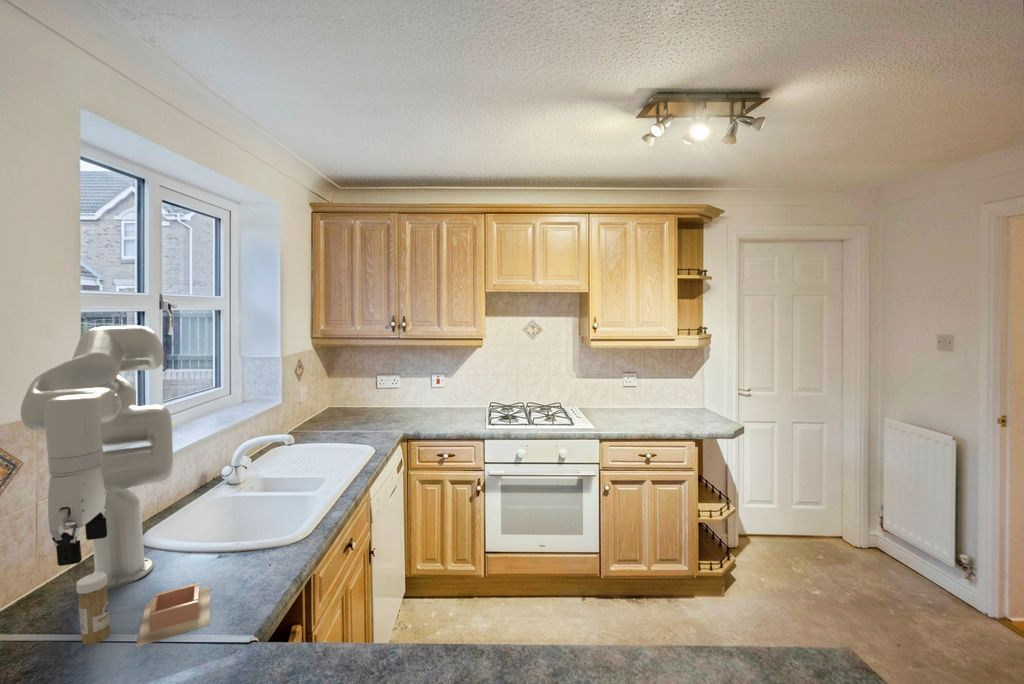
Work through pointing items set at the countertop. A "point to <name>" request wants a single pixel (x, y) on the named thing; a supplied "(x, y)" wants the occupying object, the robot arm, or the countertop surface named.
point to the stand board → (180, 628)
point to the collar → (174, 607)
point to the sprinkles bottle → (93, 608)
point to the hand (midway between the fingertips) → (84, 550)
